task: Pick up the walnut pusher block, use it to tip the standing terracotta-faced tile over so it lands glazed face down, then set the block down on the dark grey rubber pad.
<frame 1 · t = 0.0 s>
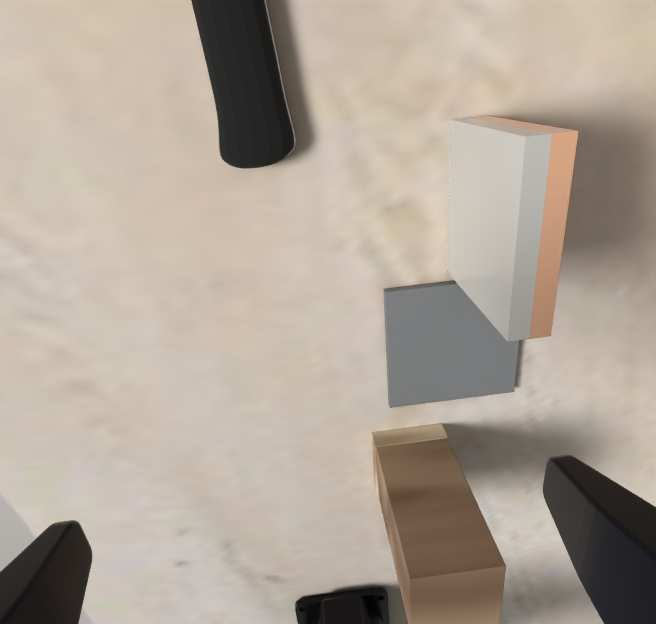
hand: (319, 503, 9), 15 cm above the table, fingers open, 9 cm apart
tile: (465, 199, 22), on the table
pad: (451, 341, 25), on the table
tool: (407, 454, 28), on the table
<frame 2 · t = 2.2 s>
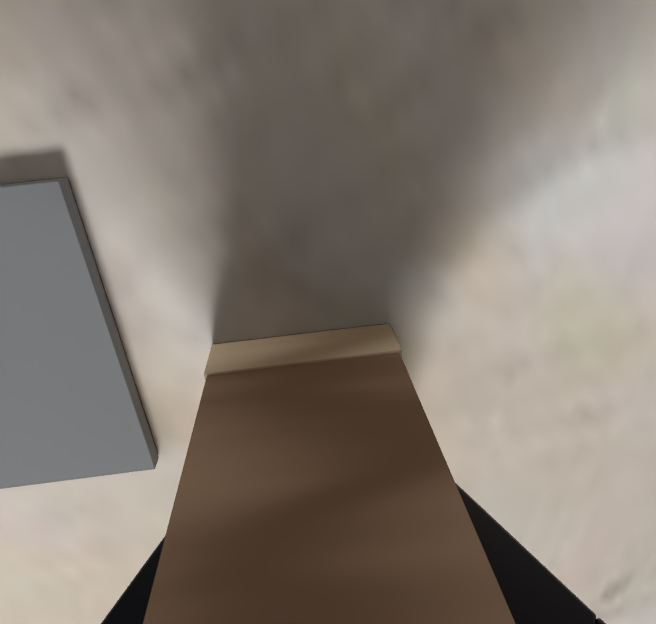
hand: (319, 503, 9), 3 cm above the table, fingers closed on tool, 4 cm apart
tool: (310, 405, 12), on the table, touching gripper
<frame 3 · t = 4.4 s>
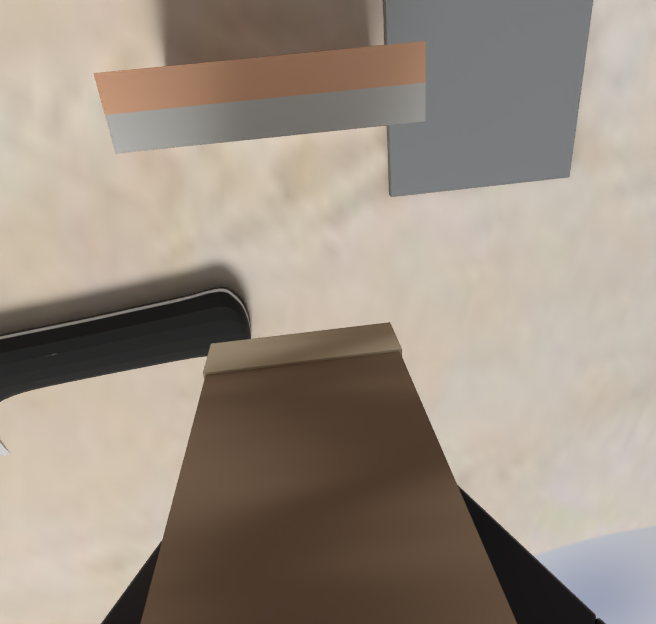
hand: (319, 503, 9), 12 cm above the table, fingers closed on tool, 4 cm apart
tile: (272, 92, 17), on the table
pad: (482, 86, 17), on the table
tool: (310, 405, 12), point 9 cm above the table, touching gripper
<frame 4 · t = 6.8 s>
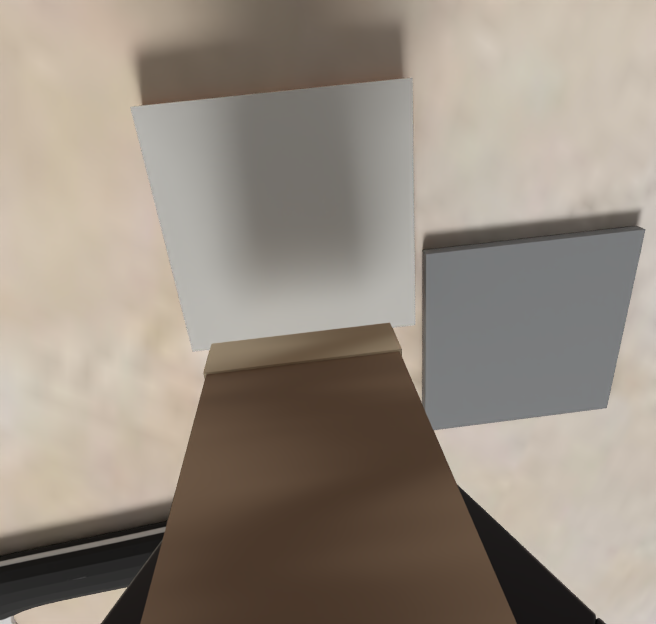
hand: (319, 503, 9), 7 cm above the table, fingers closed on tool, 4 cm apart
tile: (303, 326, 15), on the table, tilted 90°
pad: (520, 333, 17), on the table
tool: (310, 405, 12), point 4 cm above the table, touching gripper
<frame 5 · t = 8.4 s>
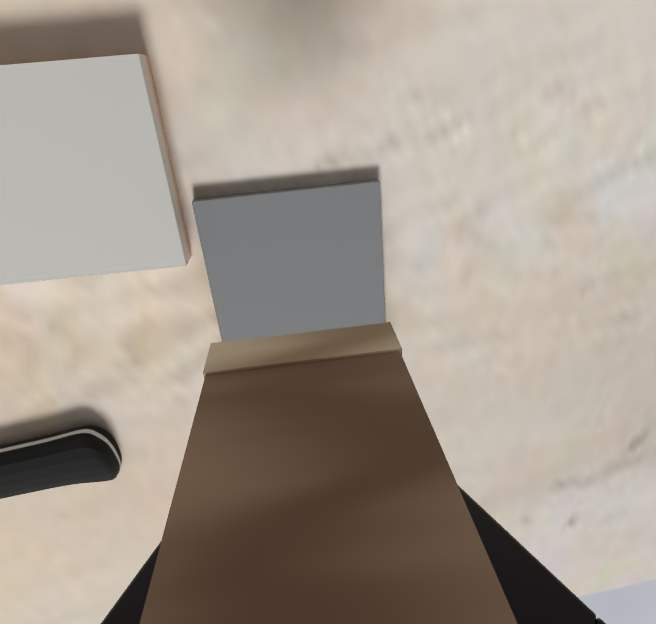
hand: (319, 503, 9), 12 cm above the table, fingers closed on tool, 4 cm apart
tile: (98, 267, 18), on the table, tilted 90°
pad: (297, 275, 19), on the table
tool: (310, 405, 12), point 9 cm above the table, touching gripper
when the fingers open (4 cm above the table, at t = 10.0 s): tool stays where it is, resting on pad.
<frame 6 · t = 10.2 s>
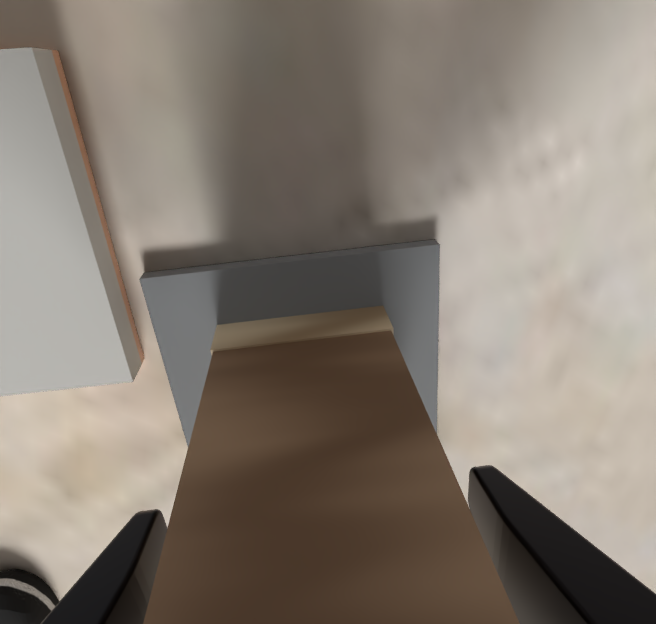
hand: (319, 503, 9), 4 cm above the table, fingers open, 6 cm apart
pad: (307, 377, 13), on the table
tool: (309, 384, 13), resting on pad
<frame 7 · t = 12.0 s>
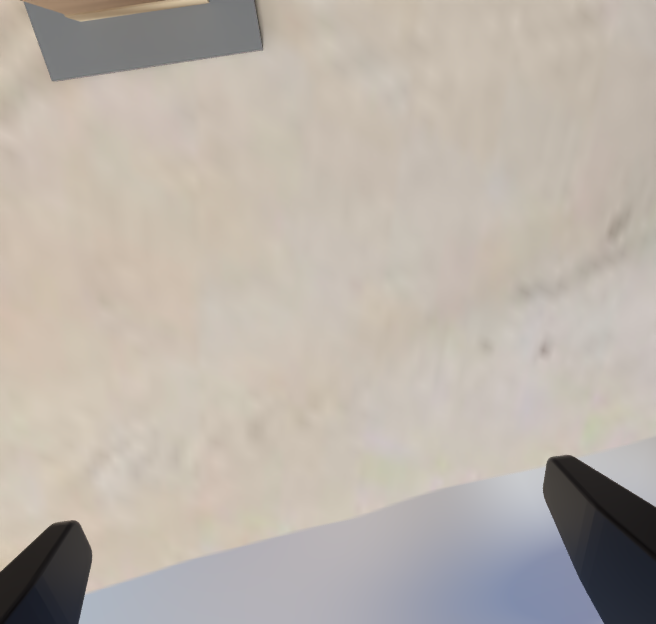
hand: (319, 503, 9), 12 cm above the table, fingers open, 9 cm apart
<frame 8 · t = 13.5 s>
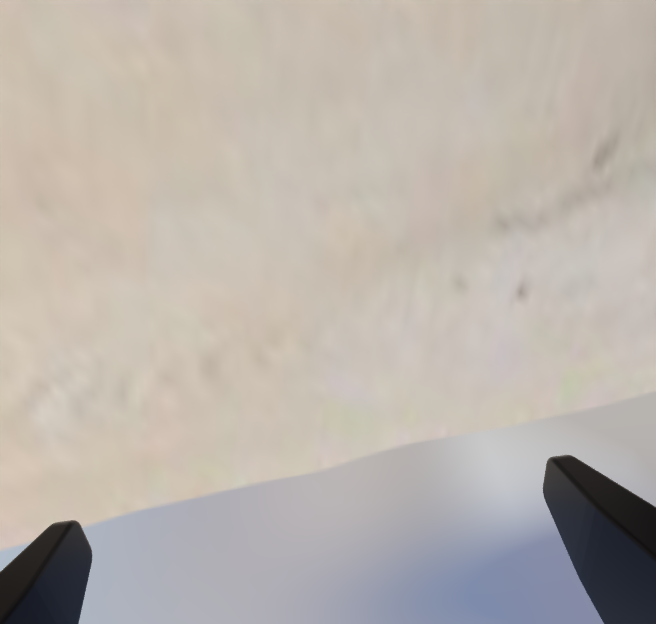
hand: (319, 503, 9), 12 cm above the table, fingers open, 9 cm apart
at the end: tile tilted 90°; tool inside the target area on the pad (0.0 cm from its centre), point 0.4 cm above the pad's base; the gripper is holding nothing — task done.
